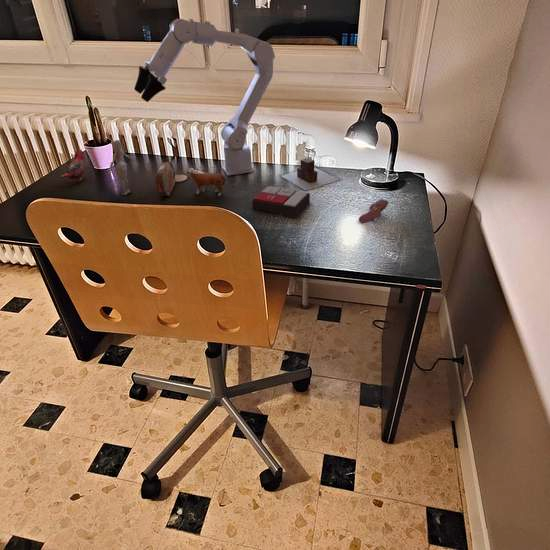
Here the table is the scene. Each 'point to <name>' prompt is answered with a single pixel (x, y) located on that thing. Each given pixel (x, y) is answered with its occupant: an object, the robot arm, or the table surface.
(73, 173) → the decorative bird figurine
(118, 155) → the human figurine
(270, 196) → the red and grey box
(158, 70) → the robot arm
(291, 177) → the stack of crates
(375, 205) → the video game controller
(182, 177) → the cork coaster
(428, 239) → the table surface
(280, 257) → the table surface
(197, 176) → the bull figurine
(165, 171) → the tin
